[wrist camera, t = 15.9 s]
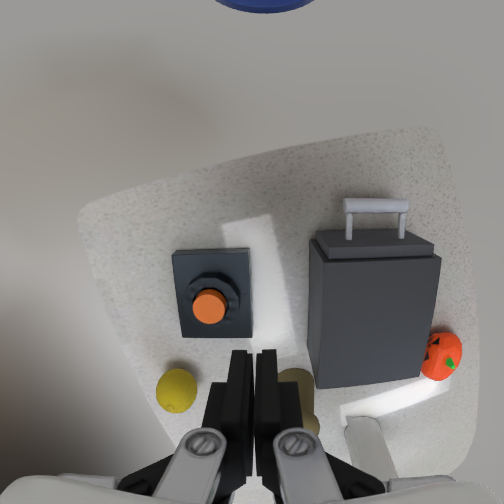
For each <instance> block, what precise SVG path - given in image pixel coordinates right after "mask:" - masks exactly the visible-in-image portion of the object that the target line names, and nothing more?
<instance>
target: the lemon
mask: <svg viewBox="0 0 504 504" xmlns="http://www.w3.org/2000/svg"><path fill="white" fill-rule="evenodd" d="M196 395H197V383H196V381H195V379H194V377H193V376H192V375H191V374H190V373H189V372H187V371H186V370H183V369H172V370H169V371H167V372H166V373H164V374H163V375H162V377H161V378H160V379H159V381H158V384H157V387H156V398H157V401H158V403H159V404H160V406H161V407H162V408H163V409H165V410H166V411H168V412H171V413H181V412H184V411H186V410H187V409H189V408H190V407H191V405H192V404H193V402H194V401H195V399H196Z"/></svg>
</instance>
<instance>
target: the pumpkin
mask: <svg viewBox="0 0 504 504" xmlns="http://www.w3.org/2000/svg"><path fill="white" fill-rule="evenodd" d="M461 356H462V344H461V342H460V339H459V338H458V337H457V336H456V335H455V334H453V333H450V332H443V333H434V334H433V335H431V336H430V337H429V338H428V342H427V347H426V351H425V355H424V359H423V363H422V367H421V372H422V373H423V374H424V375H425V376H426V377H428V378H430V379H432V380H435V381H441V380H444V379H446V378H448V377H449V376H450V375H451V374H452V372H453V371H454V370H455V369H456V368H457V367H458V365H459V362H460V360H461Z"/></svg>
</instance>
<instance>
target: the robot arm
mask: <svg viewBox="0 0 504 504" xmlns="http://www.w3.org/2000/svg"><path fill="white" fill-rule="evenodd" d="M254 439H255V455H256V471H257V476H262V484H263V486H265V487H266V488H267V489H269V490H270V491H272V492H273V499H274V504H503V503H502V501H501V500H500V499H499V497H498V496H497V495H496V494H495V493H494V492H493V491H492V490H491V489H490V488H489V487H487V486H485V485H483V484H479V483H474V482H457V481H455V480H454V479H453V478H452V477H450V476H447V475H435V476H425V477H411V478H389V480H388V481H380V480H379V479H377V478H376V477H374V476H372V475H370V474H368V473H366V472H364V471H361V470H359V469H357V468H355V467H353V466H351V465H349V464H347V463H345V462H344V461H342V460H340V459H338V458H336V457H334V456H332V455H330V454H328V453H326V452H325V451H324V449H323V447H322V444H321V441H320V439H319V437H318V436H317V435H316V434H315V433H314V432H313V431H311V430H308V429H306V428H304V427H303V419H302V411H301V404H300V396H299V389H298V383H297V381H289V382H278V371H277V354H276V349H270V350H262V353H257V357H256V380H255V395H254V375H253V356H252V354H247V350H232V355H231V361H230V367H229V373H228V379H227V382H212V384H211V388H210V392H209V396H208V401H207V405H206V409H205V414H204V418H203V422H202V427H201V428H197V429H194V430H191V431H189V432H188V433H186V434H185V435H184V436H183V438H182V439H181V441H180V443H179V445H178V447H177V449H176V451H175V453H174V454H172V455H170V456H168V457H166V458H164V459H162V460H160V461H158V462H156V463H154V464H151V465H149V466H147V467H145V468H143V469H141V470H139V471H136V472H134V473H132V474H129V475H128V476H126V477H124V478H123V479H121V480H120V479H117V478H116V477H112V476H94V475H81V474H70V473H65V474H64V473H63V474H60V475H58V476H56V477H55V476H37V475H35V476H27V477H22V478H19V479H17V480H16V481H14V482H13V483H12V484H10V485H9V486H8V487H7V488H6V489H5V491H4V492H3V493H2V494H1V496H0V504H232V502H233V499H234V494H235V490H237V489H238V488H240V487H241V486H243V485H244V484H246V476H252V468H253V447H254Z"/></svg>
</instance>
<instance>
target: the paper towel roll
mask: <svg viewBox="0 0 504 504" xmlns="http://www.w3.org/2000/svg"><path fill="white" fill-rule="evenodd" d="M346 419H347V423H348V427H347V428H346V431H345V438H346V441H347V445H348V449H349V453H350V457H351V461H352V465H353V467H355V468H357V469H359V470H361V471H364V472H366V473H368V474H370V475H372V476H374V477H376V478H377V479H379V480H380V481H388V480H389V478H398V475H397V472H396V469H395V466H394V464H393V461H392V458H391V456H390V453H389V450H388V448H387V445H386V442H385V440H384V437H383V434H382V432H381V429H380V427H379V424H378V422H377V421H376V420H375V419H372V418H367V417H355V418H353V417H347V416H346Z"/></svg>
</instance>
